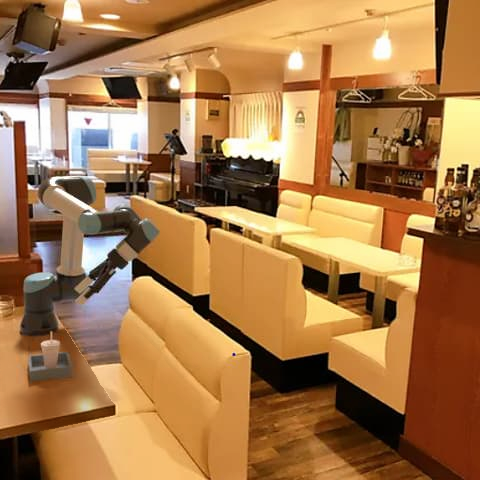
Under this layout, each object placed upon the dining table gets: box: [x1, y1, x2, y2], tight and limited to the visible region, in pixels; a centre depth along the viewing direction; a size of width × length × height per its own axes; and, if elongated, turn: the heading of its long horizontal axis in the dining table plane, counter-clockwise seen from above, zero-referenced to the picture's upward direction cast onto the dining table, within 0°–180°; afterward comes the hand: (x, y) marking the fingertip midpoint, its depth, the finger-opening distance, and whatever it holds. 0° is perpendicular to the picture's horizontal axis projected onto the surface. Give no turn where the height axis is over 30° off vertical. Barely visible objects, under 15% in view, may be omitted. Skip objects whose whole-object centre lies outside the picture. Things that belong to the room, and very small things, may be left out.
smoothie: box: [40, 331, 61, 369], centre depth 197 cm, size 6×6×14 cm
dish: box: [27, 351, 73, 382], centre depth 198 cm, size 14×14×4 cm
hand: (77, 297), depth 198 cm, fingers open, 13 cm apart
